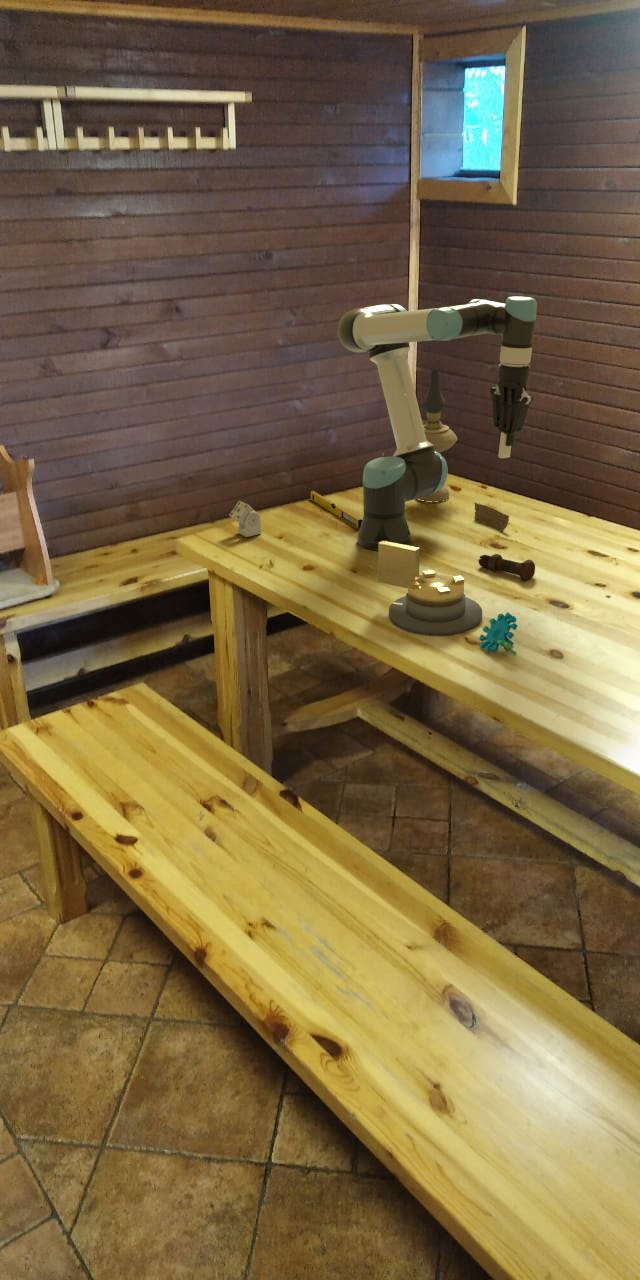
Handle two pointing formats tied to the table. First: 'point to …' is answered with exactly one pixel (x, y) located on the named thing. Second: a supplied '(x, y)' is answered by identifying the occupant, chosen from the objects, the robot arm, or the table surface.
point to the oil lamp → (436, 429)
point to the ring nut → (417, 576)
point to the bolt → (508, 566)
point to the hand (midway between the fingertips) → (504, 457)
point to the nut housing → (435, 617)
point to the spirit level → (335, 509)
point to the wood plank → (491, 516)
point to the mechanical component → (246, 519)
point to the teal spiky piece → (499, 634)
